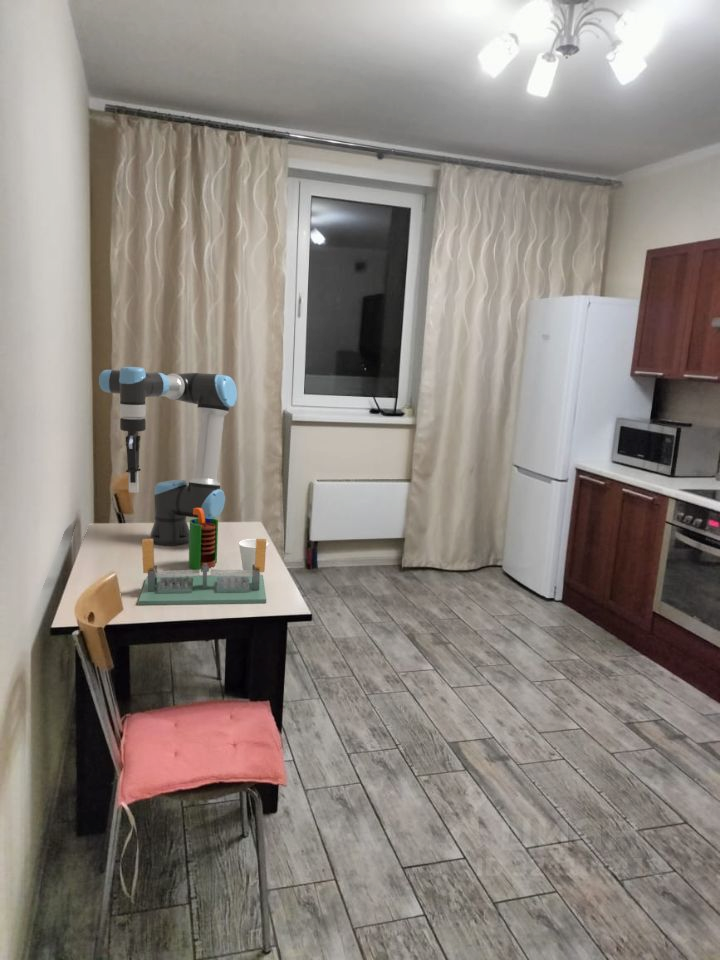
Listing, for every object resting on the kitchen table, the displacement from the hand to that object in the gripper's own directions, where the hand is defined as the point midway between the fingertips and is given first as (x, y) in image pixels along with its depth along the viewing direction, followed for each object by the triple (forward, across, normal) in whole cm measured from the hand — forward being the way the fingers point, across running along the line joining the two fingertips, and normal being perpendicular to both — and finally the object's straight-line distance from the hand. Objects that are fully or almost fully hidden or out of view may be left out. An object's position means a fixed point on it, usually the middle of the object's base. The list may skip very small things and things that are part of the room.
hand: (133, 491), depth 219 cm
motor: (+29, -12, +21) cm, 37 cm away
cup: (+29, -2, +38) cm, 48 cm away
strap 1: (+24, +13, +13) cm, 30 cm away
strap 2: (+24, +13, +33) cm, 42 cm away
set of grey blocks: (+27, +13, +23) cm, 38 cm away
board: (+28, +13, +23) cm, 39 cm away
